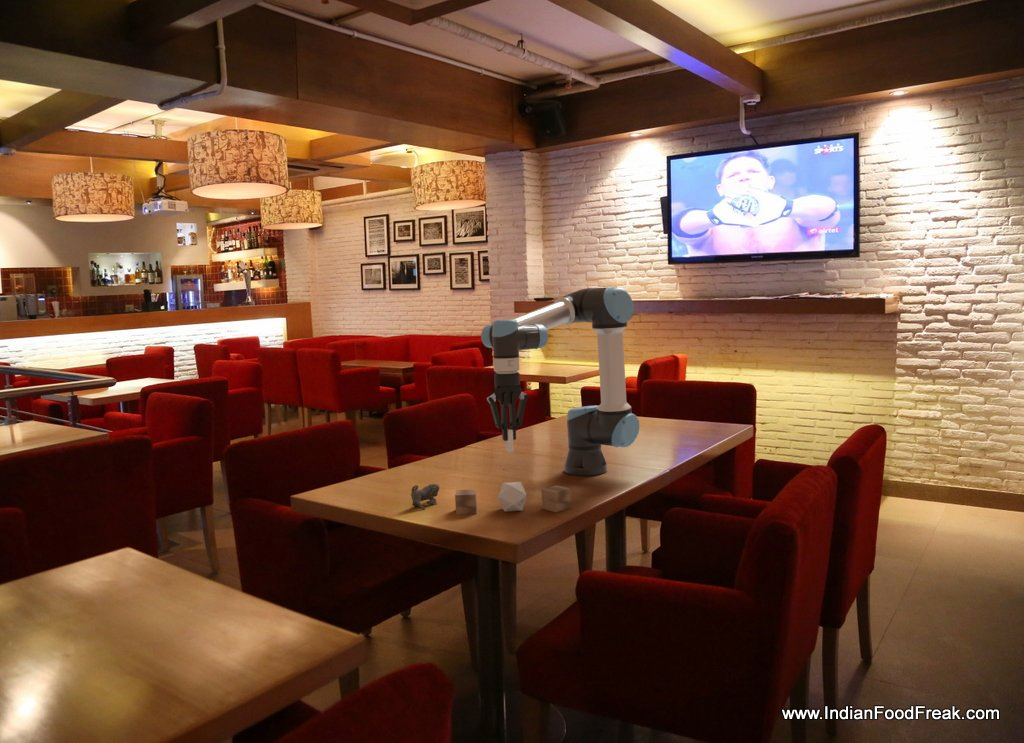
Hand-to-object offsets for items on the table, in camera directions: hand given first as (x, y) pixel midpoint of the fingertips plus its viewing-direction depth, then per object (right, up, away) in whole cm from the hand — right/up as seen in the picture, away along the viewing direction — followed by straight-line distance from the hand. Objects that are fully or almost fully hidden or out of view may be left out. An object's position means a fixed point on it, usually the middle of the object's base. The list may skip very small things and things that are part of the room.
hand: (509, 451), depth 233 cm
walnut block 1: (-13, -18, +2) cm, 23 cm away
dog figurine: (-26, -18, +11) cm, 34 cm away
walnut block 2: (+14, -17, +2) cm, 22 cm away
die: (+1, -18, +2) cm, 18 cm away
